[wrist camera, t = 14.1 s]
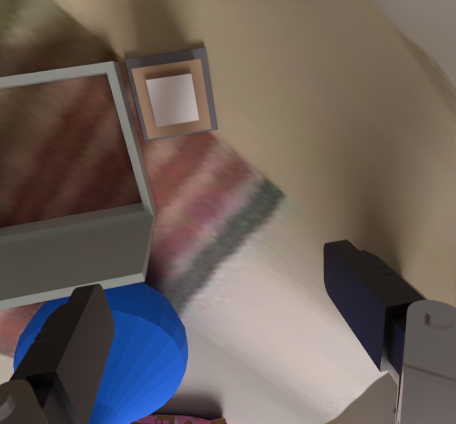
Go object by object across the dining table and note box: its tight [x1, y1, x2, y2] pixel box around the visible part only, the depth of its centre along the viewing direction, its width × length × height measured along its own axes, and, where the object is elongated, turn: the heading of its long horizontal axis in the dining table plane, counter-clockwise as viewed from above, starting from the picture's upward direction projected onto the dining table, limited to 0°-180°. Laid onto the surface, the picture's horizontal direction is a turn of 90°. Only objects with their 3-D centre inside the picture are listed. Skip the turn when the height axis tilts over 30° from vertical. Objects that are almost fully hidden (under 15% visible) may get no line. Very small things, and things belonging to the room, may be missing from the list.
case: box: [0, 61, 157, 310], centre depth 27 cm, size 19×16×14 cm
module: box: [132, 59, 212, 139], centre depth 28 cm, size 6×6×8 cm
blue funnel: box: [13, 282, 188, 424], centre depth 33 cm, size 18×18×19 cm
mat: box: [125, 48, 218, 141], centre depth 32 cm, size 8×8×1 cm
